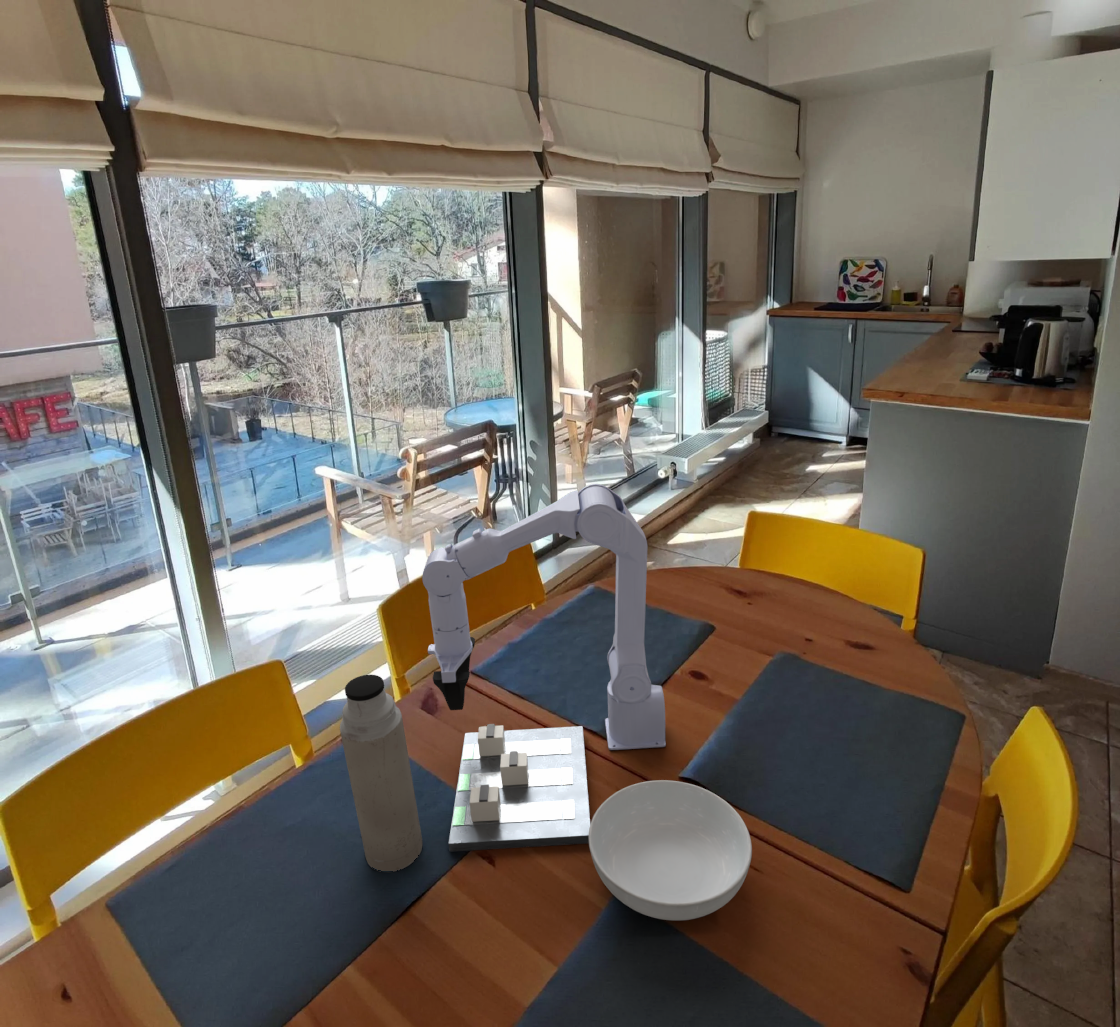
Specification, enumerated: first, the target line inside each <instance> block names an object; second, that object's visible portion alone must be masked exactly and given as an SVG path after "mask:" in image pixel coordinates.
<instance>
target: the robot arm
mask: <svg viewBox="0 0 1120 1027" xmlns="http://www.w3.org/2000/svg"><path fill="white" fill-rule="evenodd" d="M576 532H578V534H579V535H580V536H581V538H583V539H584V540H585V541H586V542H587V543H590V544H591V545H595V546H599V547H602V548H605V549H608V550H610V551H611V552H612V553H613V554H615V556H616V557H615V602H614V603H615V609H614V610H615V612H614V615H615V616H614V634H613V637H612V638H613V639H612V640H613V641H612V645H611V647H610V649H609V650H608V653H607V656H606V658H607V659H606V660H607V664H608V666H609V667H608V668H609V673H610V674H609V675H610V681H609V682H608V684H607V687H606V691H607V714H608V717H607V718H604V724H605V731H606V740H607V747H608V750H609V751H619V750H632V749H633V750H634V749H636V750H637V749H649V748H650V749H651V748H652V749H654V748H665V747H666V746H667V743H666V707H665V706H666V705H665V703H666V702H665V697H664V696H665V695H664V691H663V690H664V689H663V687H662V685H656V684H652V682H651V679H650V675H649V672H648V668H647V660H646V650H645V649H646V647H645V628H646V627H645V626H646V597H647V594H646V593H647V576H648V575H647V574H648V573H647V568H648V565H647V564H648V541H647V537H646V534H645V532H644V531H643V529H642V528H641V526H640V524H639V523H638V522H637V521H636V519H635V517H634V516H633V514H632V513H631V511H630V510H629V509H628V507H627V506H626V504H625V502H624V500H623V499H622V497H621V495H619V494H618V493H616V492H614V491H613V490H612V489H611V488H610V487H607V486H606V485H603V484H600V483H591V484H588V485H586V486H584V487H583V488H581V489H580V490H579V491H578V490H574V491H570V492H569V493H567V494H565V495H564V496H562V497H561V498H559V499H558V500H556V501H554V502H552V503H551V504H549V505H547V506H545V507H544V508H541V509H540V510H537V511H536V512H534V513H532V514H530V515H528V516H527V517H525V518H523V519H521V520H519V521H517V522H515V523H513V524H512V525H510V526H507V527H506V528H505V529H502V530H498V529H495V528H487V529H485V530H483V531H482V528H477V529H475V530H473V531H472V534H471V536H469V537H468V538H465V539H463V540H462V541H459V542H457V543H455V544H453V543H448V544H447V545H445V547H443V546H442V547H439V548H436V549H433V551H431V552H430V554H429V556H428V557H427V560H426V562H425V566H424V568H423V570H422V576H421V578H422V583H423V586H424V587H425V589H426V591H427V594H428V606H429V607H428V608H429V613H430V614H429V615H430V621H431V628H432V634H433V642H434V643H433V644H432V643H431V644H429V645H428V648H427V653H428V655H434V656H435V658H436V660H437V663H438V665H439V667H440V670H438V671H436V670H435V671H433V674H432V682H433V684H434V685H435V686H436V687H437V689H439V690H440V691H441V694H442V696H443V697H444V700H445V702H446V704H447V707H448V708H449V710H450V711H462V710H464V705H465V696H466V695H465V694H466V686H467V684H468V681H469V678H470V673H471V672H470V662H471V657H472V656H471V655H472V652H473V650H474V648H475V644H476V639H475V638H474V636H473V637H472V636H471V632H470V625H469V615H468V607H467V598H466V593H465V590H464V583H463V582H464V581H468V580H470V579H472V578H474V577H476V576H479V575H481V574H483V573H485V572H487V571H489V570H491V569H493V568H495V567H497V566H500V565H502V564H504V563H505V562H507V559H508V555H509V553H510V552H512V551H514V550H515V551H516V550H517V549H520V548H522V547H524V546H527V545H529V544H531V543H534V542H536V541H539V540H541V539H544V538H547V537H549V536H552V535H555V534H560V535H562V536H565V537H567V538H570V539H572V540H576V539H577V535H576V534H577V533H576Z"/></svg>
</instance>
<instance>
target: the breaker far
mask: <svg viewBox="0 0 1120 1027" xmlns="http://www.w3.org/2000/svg"><path fill="white" fill-rule="evenodd" d="M486 725H487V726H486ZM486 725H484V726H479V727H478V747H479V755H480V756H494V755H501V754H504V752H505V736H504V731H505V728H504V725H495V723H489V724H488V723H487V724H486Z"/></svg>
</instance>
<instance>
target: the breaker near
mask: <svg viewBox="0 0 1120 1027" xmlns="http://www.w3.org/2000/svg"><path fill="white" fill-rule="evenodd" d="M500 808H501V803H500V794H499V786H493V787H489V785H481V787H476V788H471V795H470V810H471V818H472V822H476V821H493V820H500Z"/></svg>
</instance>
